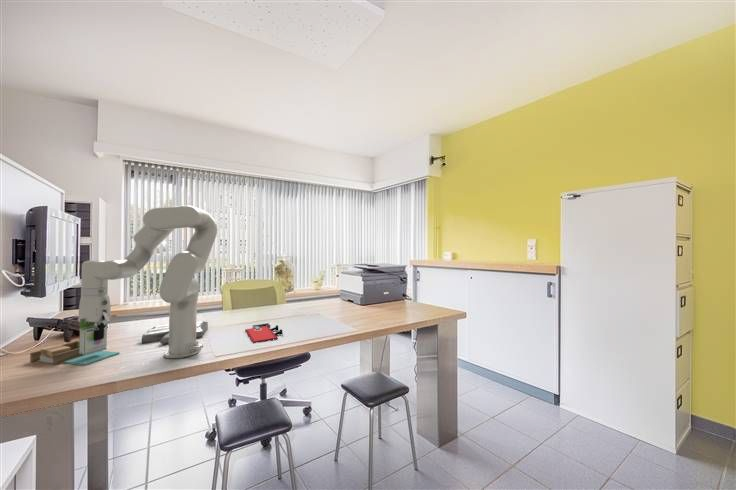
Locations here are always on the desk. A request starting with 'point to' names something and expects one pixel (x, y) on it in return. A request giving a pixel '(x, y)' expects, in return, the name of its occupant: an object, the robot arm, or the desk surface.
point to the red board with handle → (262, 333)
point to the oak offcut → (54, 350)
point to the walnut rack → (62, 356)
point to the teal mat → (91, 358)
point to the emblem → (163, 333)
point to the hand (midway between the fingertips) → (93, 338)
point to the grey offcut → (46, 359)
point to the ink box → (90, 339)
